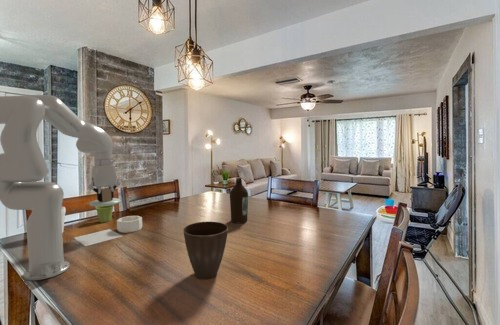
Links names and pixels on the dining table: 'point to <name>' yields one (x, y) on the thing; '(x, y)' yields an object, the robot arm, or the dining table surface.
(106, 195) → the lid
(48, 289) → the dining table surface
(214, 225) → the plant pot
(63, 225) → the foam cup
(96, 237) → the mat
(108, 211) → the plant pot
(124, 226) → the bowl
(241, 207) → the olive oil
